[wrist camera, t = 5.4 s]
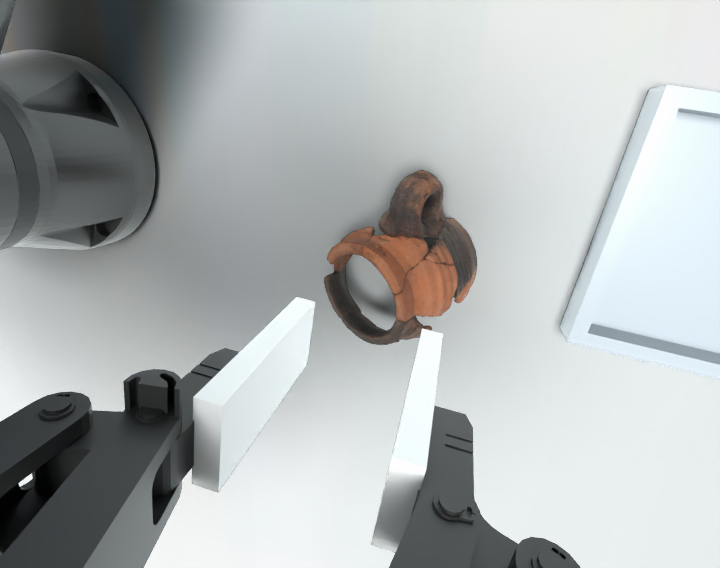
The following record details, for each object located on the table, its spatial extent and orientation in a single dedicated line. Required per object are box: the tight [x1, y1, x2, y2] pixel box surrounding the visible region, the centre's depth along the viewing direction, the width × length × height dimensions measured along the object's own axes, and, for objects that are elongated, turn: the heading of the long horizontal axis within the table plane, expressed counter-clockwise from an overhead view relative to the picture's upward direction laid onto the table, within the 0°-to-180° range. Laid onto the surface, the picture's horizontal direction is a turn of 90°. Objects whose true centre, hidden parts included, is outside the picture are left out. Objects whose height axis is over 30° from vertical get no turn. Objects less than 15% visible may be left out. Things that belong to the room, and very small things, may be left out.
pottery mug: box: [324, 170, 477, 345], centre depth 29 cm, size 12×9×8 cm
